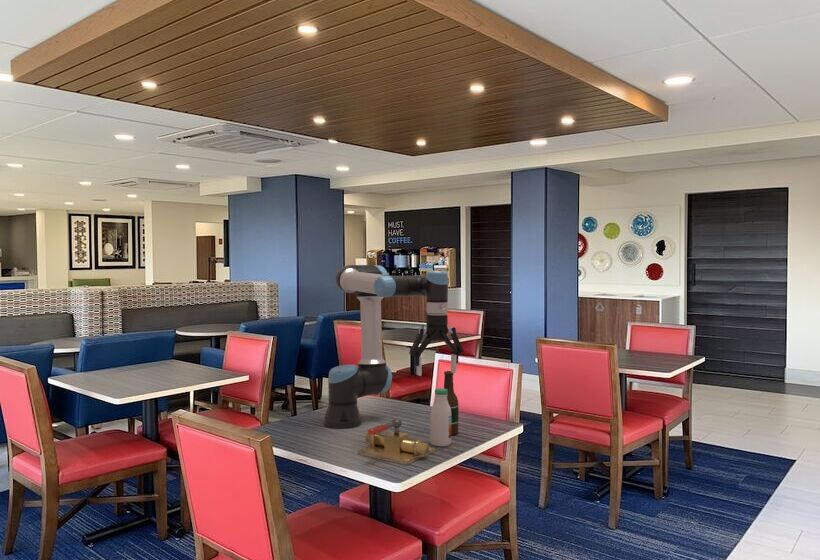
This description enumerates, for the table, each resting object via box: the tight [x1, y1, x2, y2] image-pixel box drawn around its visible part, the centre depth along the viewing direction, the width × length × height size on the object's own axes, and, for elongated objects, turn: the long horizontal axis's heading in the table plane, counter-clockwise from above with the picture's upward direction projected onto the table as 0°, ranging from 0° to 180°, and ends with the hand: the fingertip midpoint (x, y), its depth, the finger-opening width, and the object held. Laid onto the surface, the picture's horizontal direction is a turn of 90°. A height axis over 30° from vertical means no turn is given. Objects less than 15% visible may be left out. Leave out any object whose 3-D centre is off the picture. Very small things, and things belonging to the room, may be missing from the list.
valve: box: [357, 426, 436, 466], centre depth 217 cm, size 24×18×10 cm
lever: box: [367, 418, 402, 435], centre depth 211 cm, size 17×3×2 cm, turn 146°
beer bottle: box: [443, 370, 459, 436], centre depth 242 cm, size 8×8×24 cm
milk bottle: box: [429, 387, 452, 447], centre depth 228 cm, size 8×8×20 cm
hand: (436, 374), depth 222 cm, fingers open, 13 cm apart
